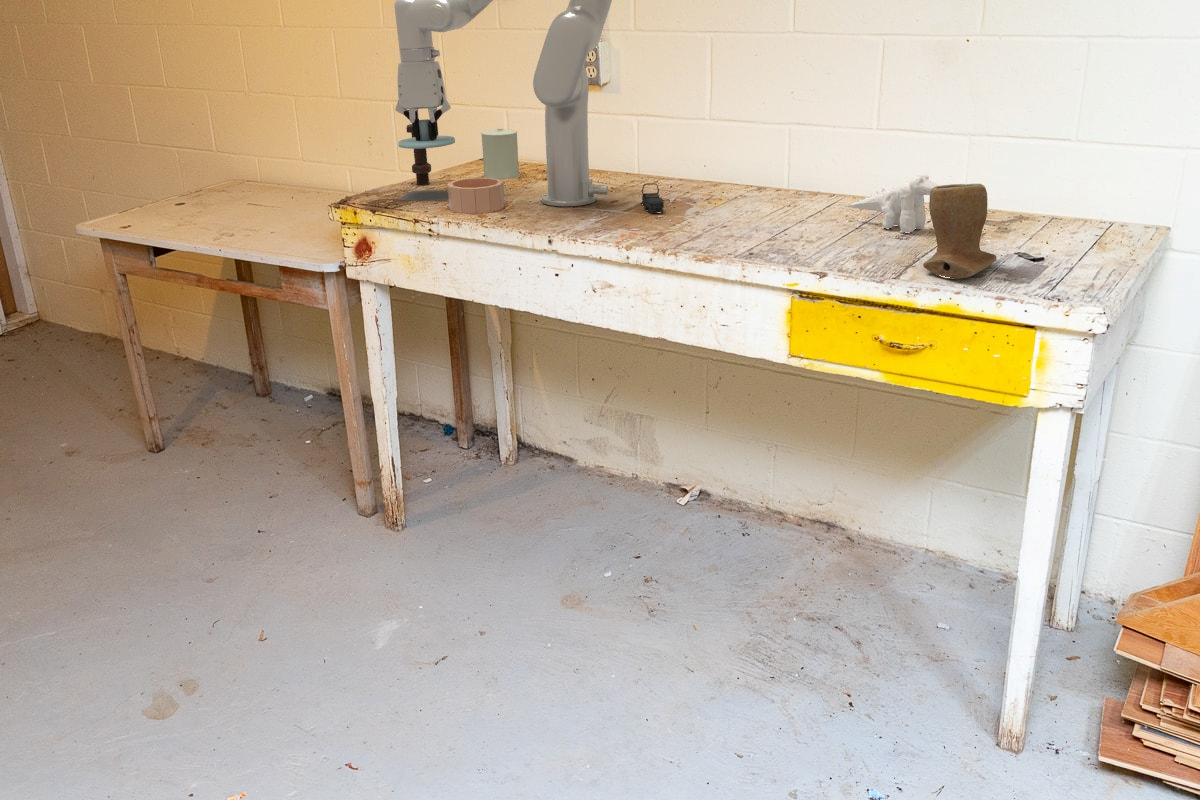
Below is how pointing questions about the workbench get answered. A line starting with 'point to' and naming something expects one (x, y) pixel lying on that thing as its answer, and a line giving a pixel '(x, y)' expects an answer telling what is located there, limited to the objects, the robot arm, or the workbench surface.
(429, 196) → the mat
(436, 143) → the lid
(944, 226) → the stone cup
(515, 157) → the can
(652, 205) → the reflex sight
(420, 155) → the bolt
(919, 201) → the white dinosaur figurine
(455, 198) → the bowl
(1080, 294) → the workbench surface
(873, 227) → the workbench surface
